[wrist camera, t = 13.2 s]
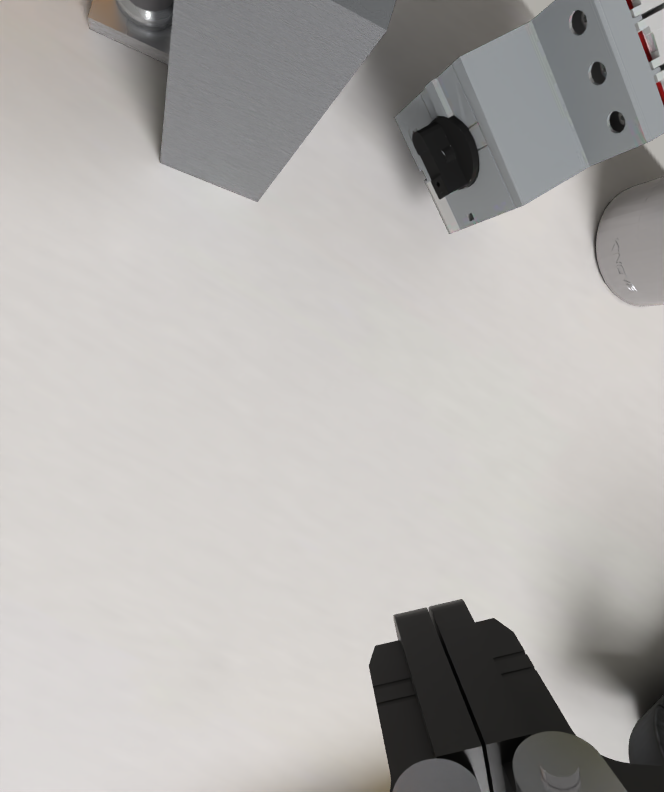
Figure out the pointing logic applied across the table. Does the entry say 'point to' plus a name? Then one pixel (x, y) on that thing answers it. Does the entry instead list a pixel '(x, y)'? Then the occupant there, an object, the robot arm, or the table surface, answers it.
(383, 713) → the robot arm
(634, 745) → the headset
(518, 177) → the grey narrow upright piece
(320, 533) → the table surface
